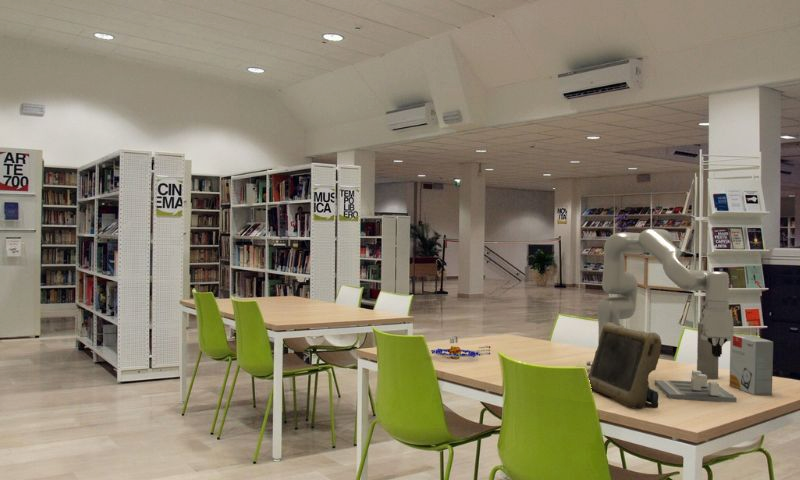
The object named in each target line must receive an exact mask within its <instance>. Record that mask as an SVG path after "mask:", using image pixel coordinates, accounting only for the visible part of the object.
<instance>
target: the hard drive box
mask: <svg viewBox="0 0 800 480" xmlns="http://www.w3.org/2000/svg"><path fill="white" fill-rule="evenodd" d="M729 342H730V343H729V344H730V346H729V347H730V349H729V355H730V356H729V386H731V387H733V388H735V389H737V390H738V389H739V390H741V391H744V392H746V393H748V394H750V395H752V396H756V395H757V396H765V395H767V396H768V395H769V396H771V395H773V370H774V369H773V367H774V365H773V362H774V361H773V360H774V341H771V340H769V339H765V338H762V337H757V336H754V335H749V334H734V336H733V340H732V341H729Z"/></svg>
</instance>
